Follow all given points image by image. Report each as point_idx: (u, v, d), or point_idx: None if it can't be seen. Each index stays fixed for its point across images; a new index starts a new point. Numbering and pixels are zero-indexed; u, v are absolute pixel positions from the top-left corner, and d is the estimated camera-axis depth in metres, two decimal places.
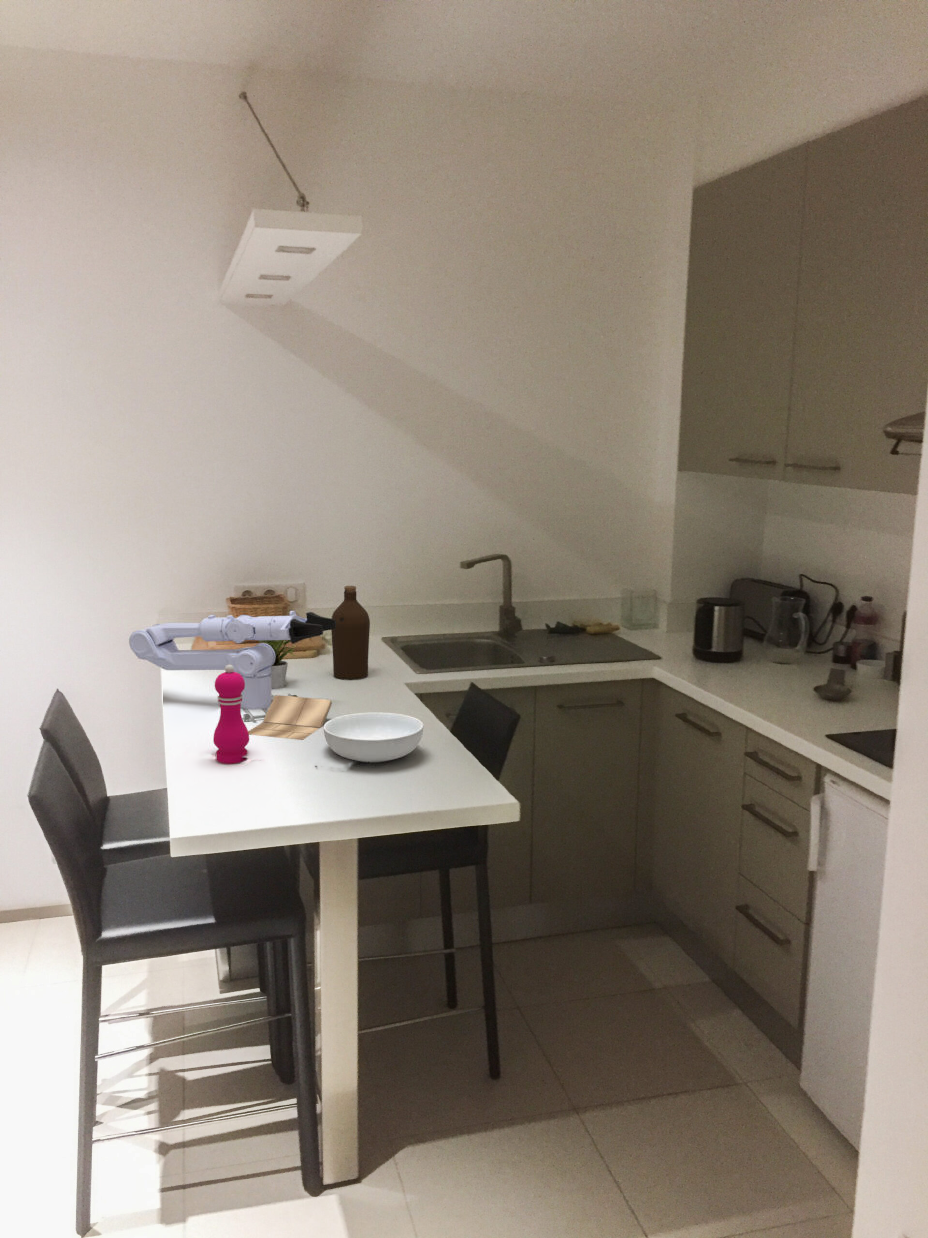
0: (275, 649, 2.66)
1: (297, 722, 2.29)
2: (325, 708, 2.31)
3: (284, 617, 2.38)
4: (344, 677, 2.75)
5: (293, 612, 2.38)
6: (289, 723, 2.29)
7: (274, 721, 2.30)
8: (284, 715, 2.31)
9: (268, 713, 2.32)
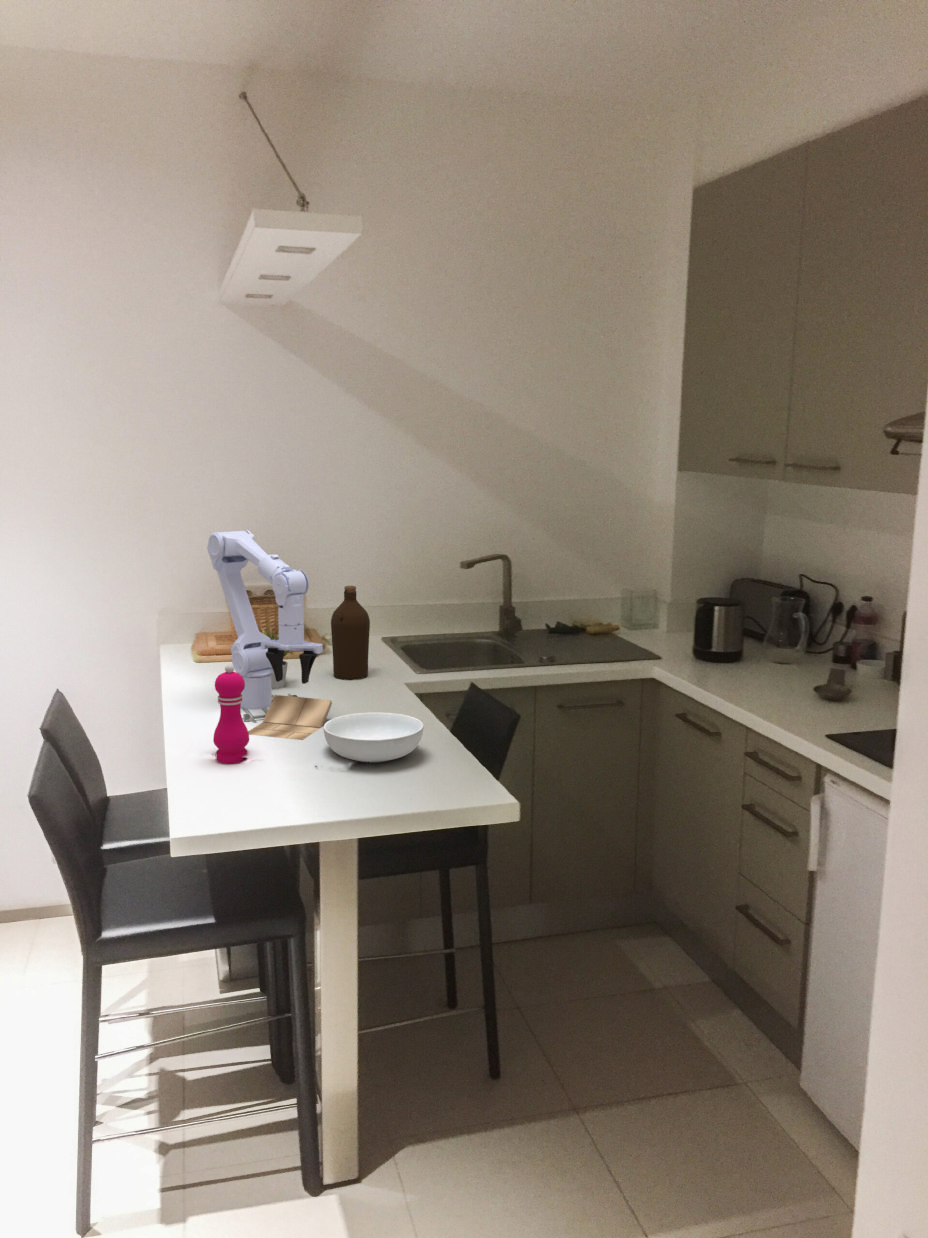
0: None
1: (297, 722, 2.29)
2: (325, 708, 2.31)
3: (282, 637, 2.29)
4: (344, 677, 2.75)
5: None
6: (289, 723, 2.29)
7: (274, 721, 2.30)
8: (284, 715, 2.31)
9: (268, 713, 2.32)
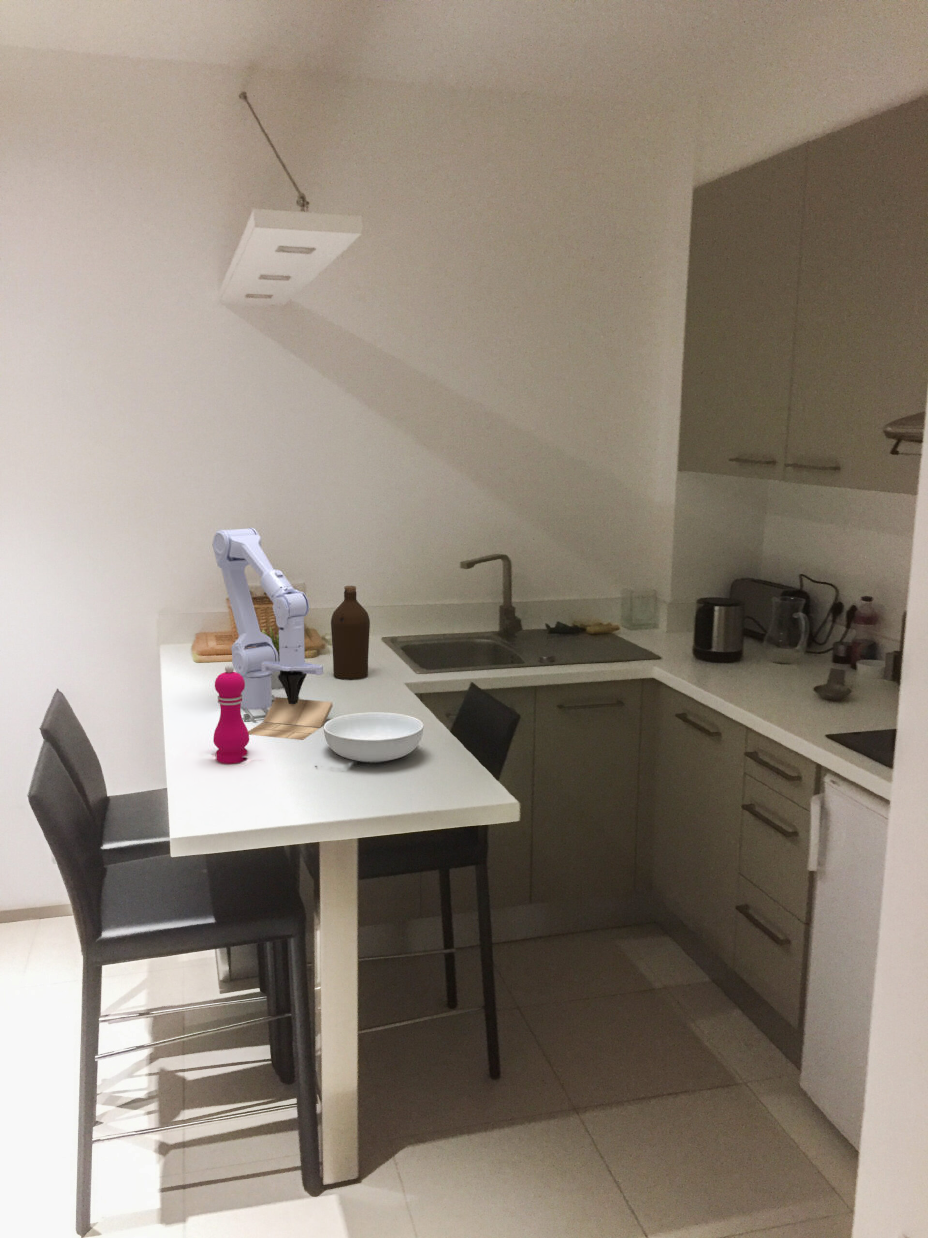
0: None
1: (297, 722, 2.29)
2: (325, 709, 2.31)
3: (283, 659, 2.30)
4: (344, 677, 2.75)
5: None
6: (289, 723, 2.29)
7: (274, 721, 2.30)
8: (284, 716, 2.31)
9: (268, 714, 2.33)
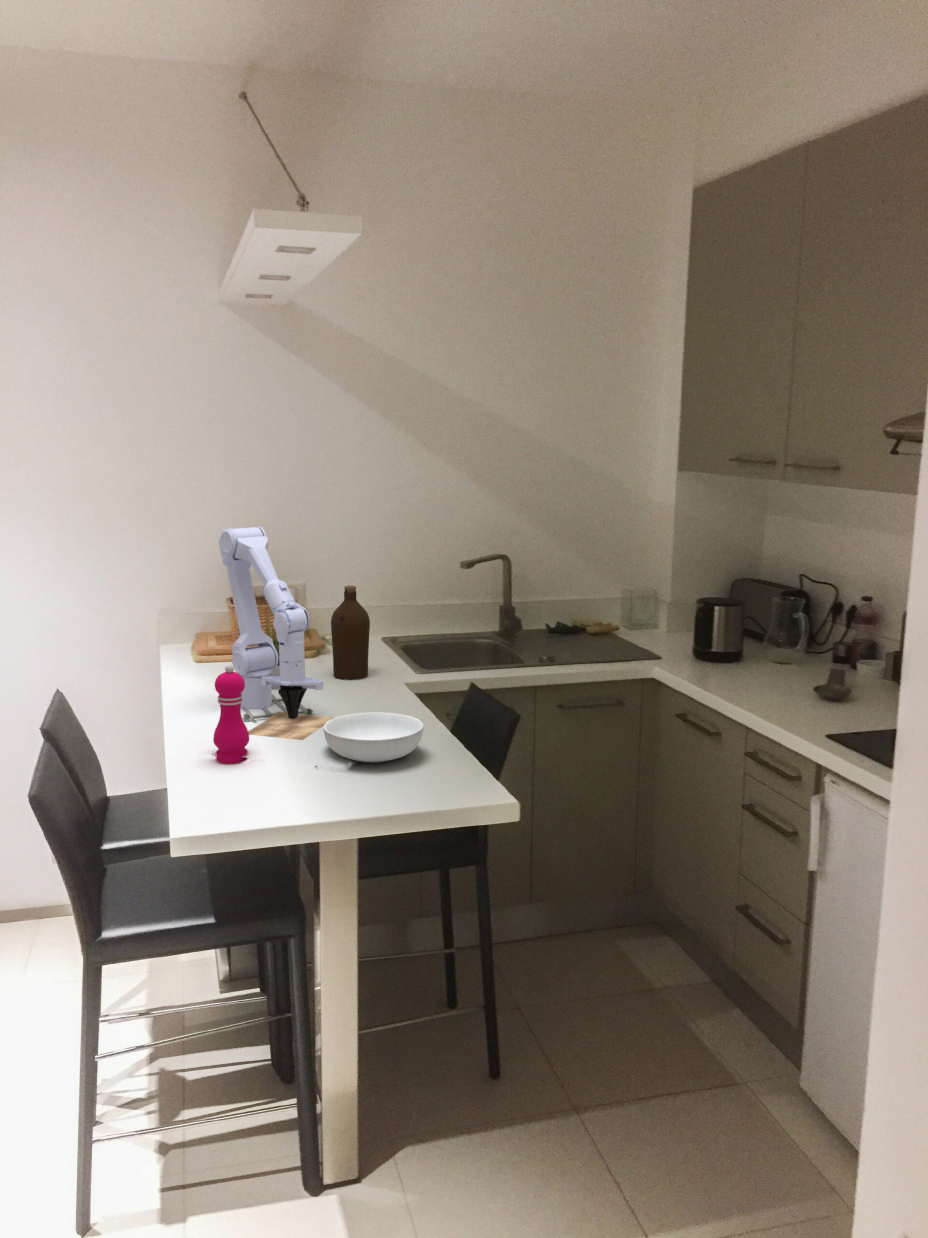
0: None
1: (297, 724, 2.30)
2: (327, 720, 2.33)
3: (283, 674, 2.30)
4: (344, 677, 2.75)
5: None
6: (289, 724, 2.30)
7: (274, 722, 2.31)
8: (285, 720, 2.32)
9: (269, 719, 2.33)
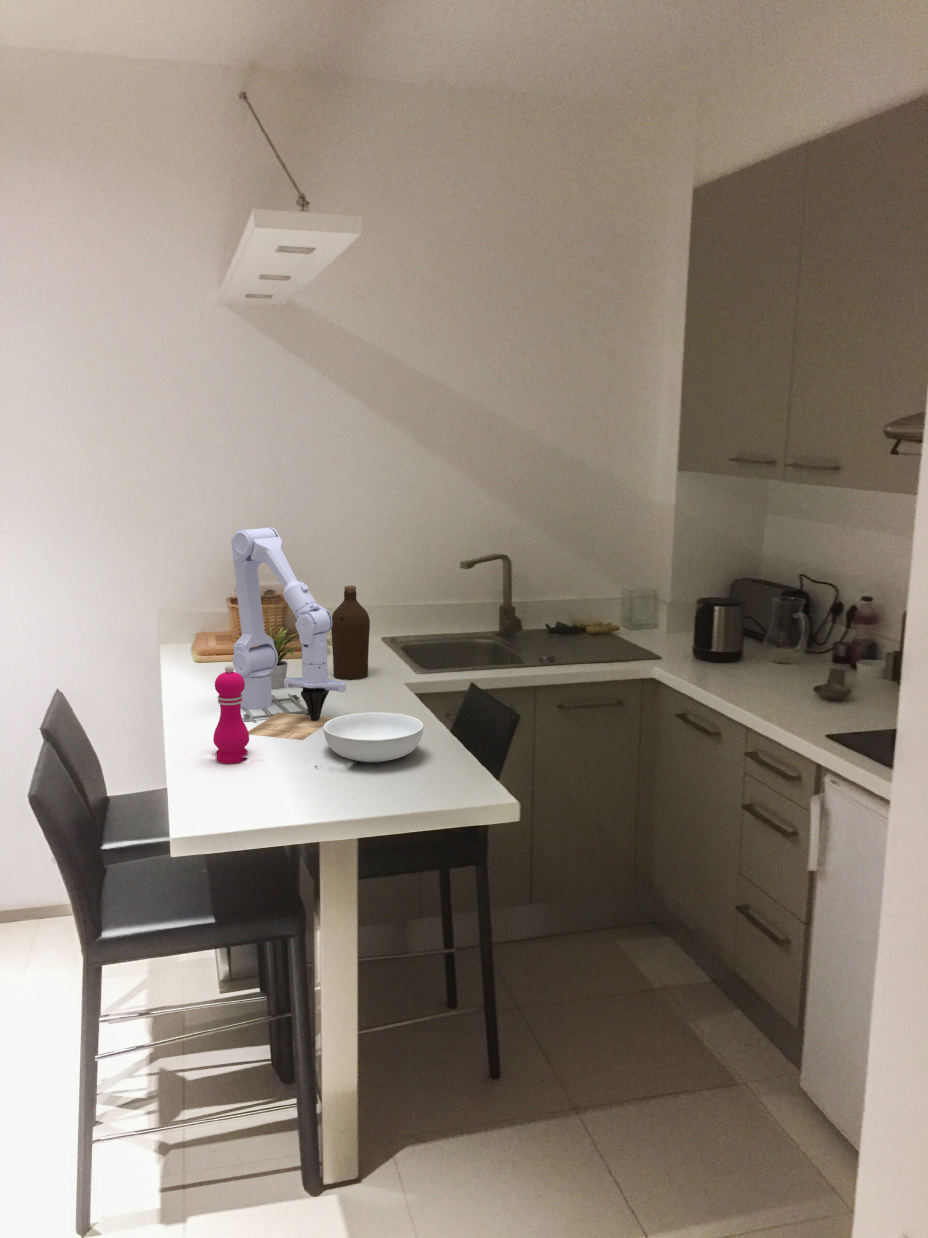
0: None
1: (297, 724, 2.30)
2: (327, 720, 2.33)
3: (306, 676, 2.29)
4: (344, 677, 2.75)
5: None
6: (289, 724, 2.30)
7: (274, 722, 2.31)
8: (285, 721, 2.32)
9: (269, 719, 2.33)
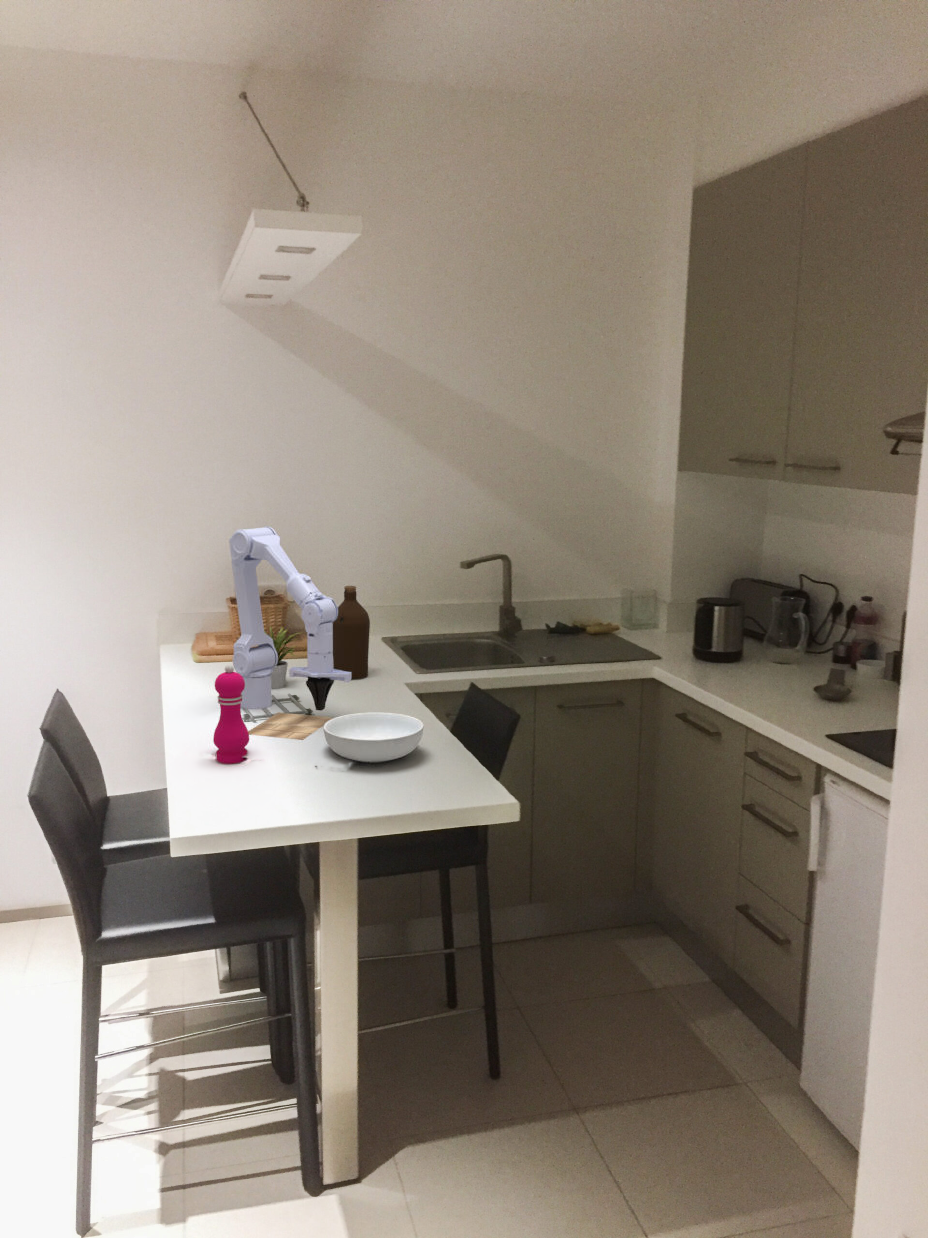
0: None
1: (297, 724, 2.30)
2: (327, 720, 2.33)
3: (311, 666, 2.28)
4: None
5: None
6: (289, 724, 2.30)
7: (274, 722, 2.31)
8: (285, 721, 2.32)
9: (269, 719, 2.33)
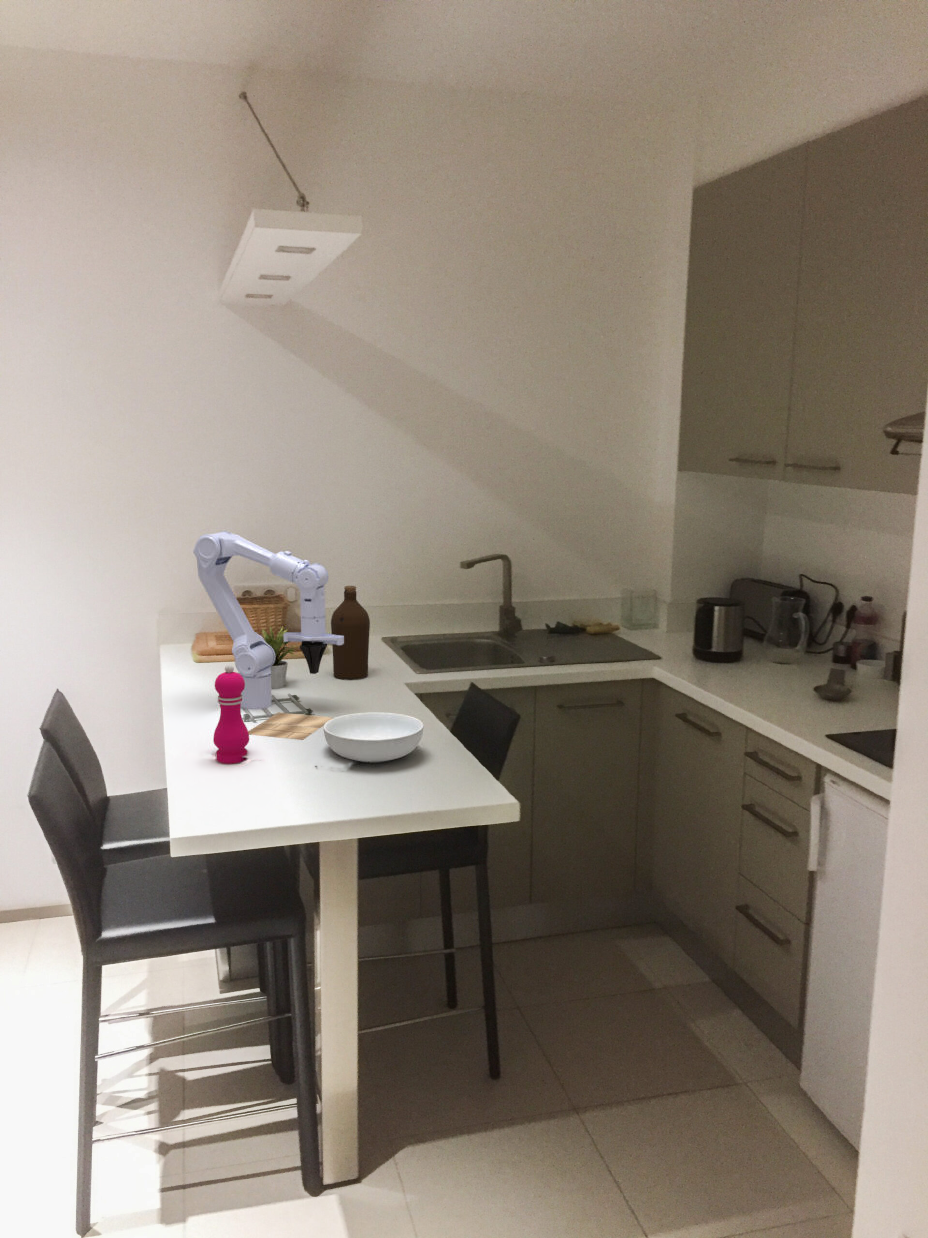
0: (275, 649, 2.66)
1: (297, 724, 2.30)
2: (327, 720, 2.33)
3: (305, 630, 2.35)
4: (344, 677, 2.75)
5: None
6: (289, 724, 2.30)
7: (274, 722, 2.31)
8: (285, 721, 2.32)
9: (269, 719, 2.33)
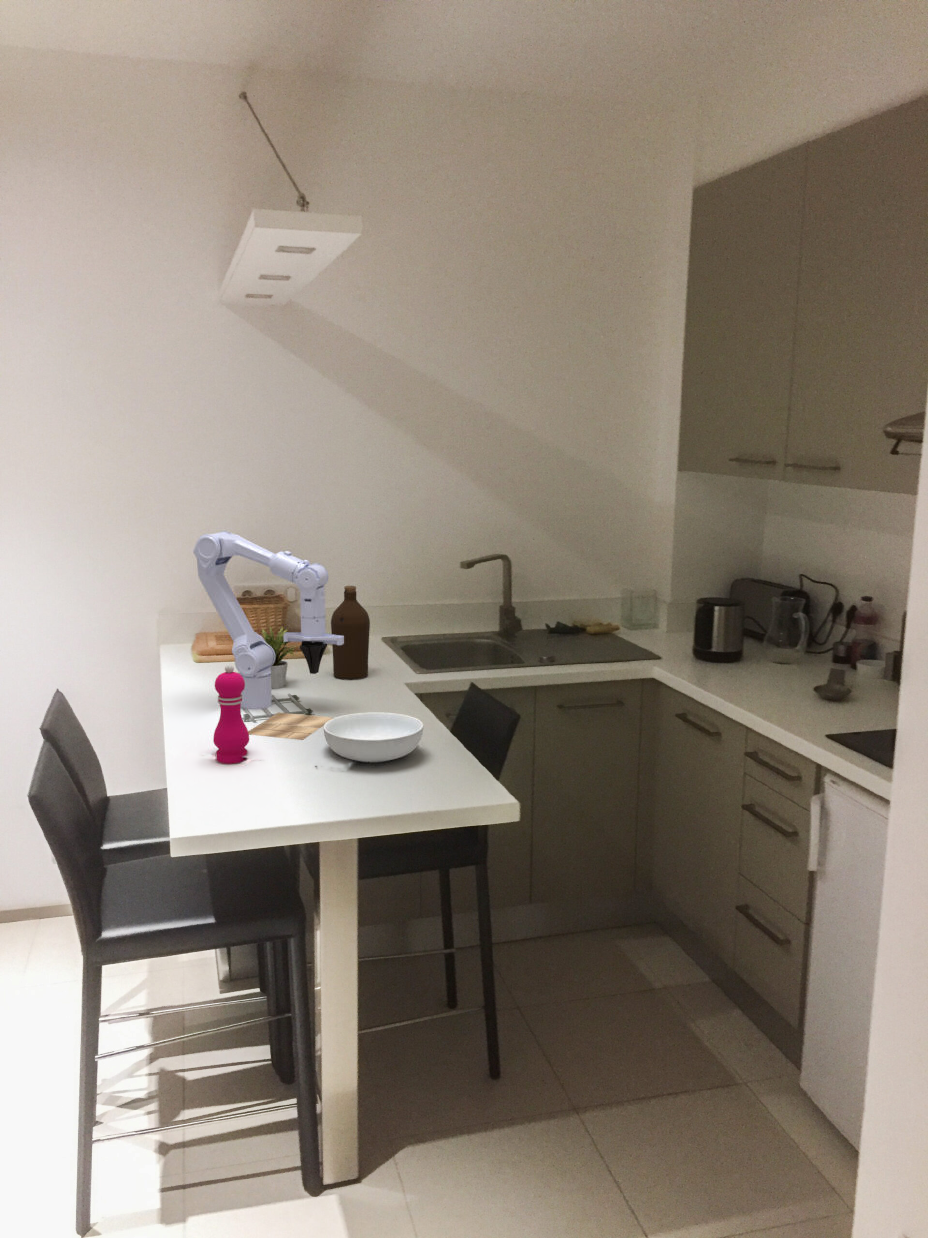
0: (275, 649, 2.66)
1: (297, 724, 2.30)
2: (327, 720, 2.33)
3: (305, 630, 2.35)
4: (344, 677, 2.75)
5: None
6: (289, 724, 2.30)
7: (274, 722, 2.31)
8: (285, 721, 2.32)
9: (269, 719, 2.33)
